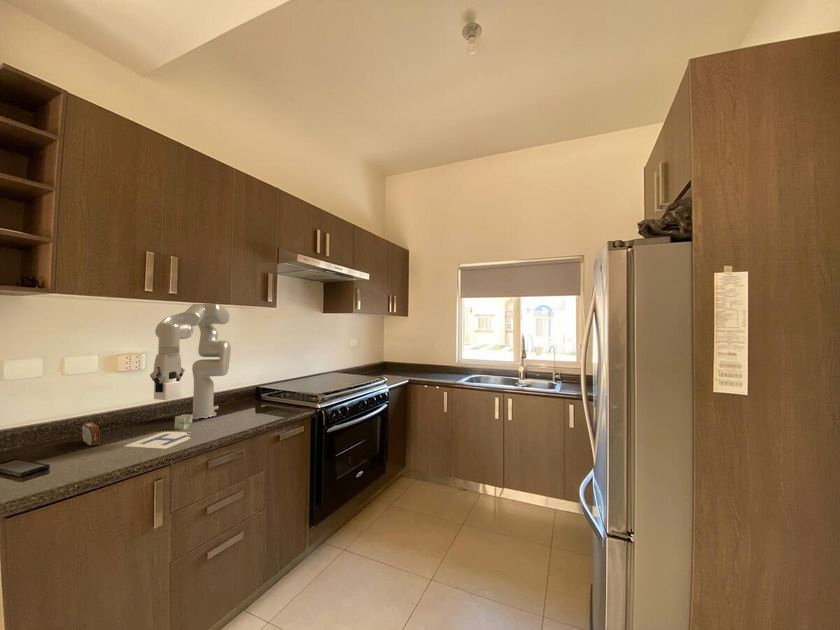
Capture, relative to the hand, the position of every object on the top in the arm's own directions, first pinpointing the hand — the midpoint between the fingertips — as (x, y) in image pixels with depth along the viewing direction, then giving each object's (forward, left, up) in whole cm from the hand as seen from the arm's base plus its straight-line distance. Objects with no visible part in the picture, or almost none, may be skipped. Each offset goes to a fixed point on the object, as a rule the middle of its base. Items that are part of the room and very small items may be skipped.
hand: (167, 390), depth 149 cm
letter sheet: (0, 0, -22) cm, 22 cm away
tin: (+9, -27, -22) cm, 36 cm away
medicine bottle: (0, 0, -4) cm, 4 cm away
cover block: (-16, -6, -22) cm, 28 cm away
